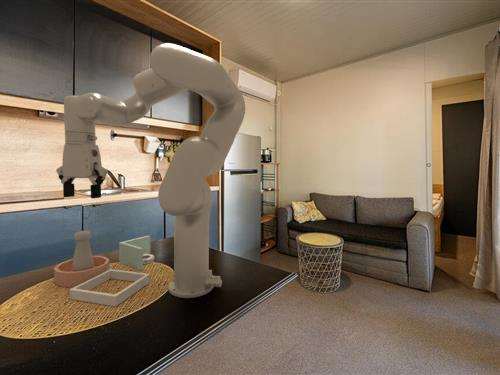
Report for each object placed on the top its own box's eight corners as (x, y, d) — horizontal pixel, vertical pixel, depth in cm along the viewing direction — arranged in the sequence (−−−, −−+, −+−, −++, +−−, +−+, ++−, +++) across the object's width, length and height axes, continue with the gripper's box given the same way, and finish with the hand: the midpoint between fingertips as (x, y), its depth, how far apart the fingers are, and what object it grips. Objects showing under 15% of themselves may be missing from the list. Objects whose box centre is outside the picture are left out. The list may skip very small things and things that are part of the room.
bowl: (118, 270, 82) (118, 258, 81) (82, 289, 69) (82, 275, 68) (84, 265, 85) (83, 254, 84) (43, 283, 71) (42, 269, 71)
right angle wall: (140, 271, 83) (140, 248, 82) (119, 263, 89) (119, 242, 88) (169, 260, 93) (169, 240, 92) (148, 254, 99) (148, 235, 99)
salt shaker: (83, 278, 73) (82, 234, 72) (66, 276, 74) (65, 233, 73) (99, 270, 79) (98, 230, 78) (83, 268, 80) (82, 228, 79)
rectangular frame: (149, 282, 74) (149, 274, 73) (115, 306, 60) (115, 296, 60) (110, 277, 77) (110, 269, 76) (69, 299, 63) (69, 289, 63)
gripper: (115, 141, 76) (116, 197, 77) (68, 141, 79) (70, 195, 81) (94, 138, 68) (96, 199, 70) (44, 138, 72) (46, 197, 73)
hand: (82, 197), depth 75 cm, fingers open, 9 cm apart
